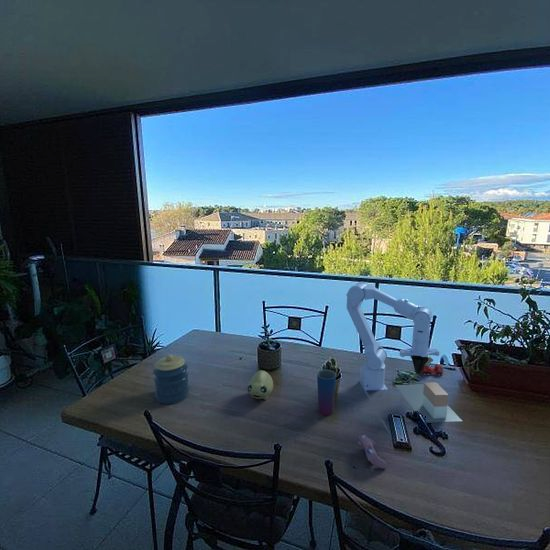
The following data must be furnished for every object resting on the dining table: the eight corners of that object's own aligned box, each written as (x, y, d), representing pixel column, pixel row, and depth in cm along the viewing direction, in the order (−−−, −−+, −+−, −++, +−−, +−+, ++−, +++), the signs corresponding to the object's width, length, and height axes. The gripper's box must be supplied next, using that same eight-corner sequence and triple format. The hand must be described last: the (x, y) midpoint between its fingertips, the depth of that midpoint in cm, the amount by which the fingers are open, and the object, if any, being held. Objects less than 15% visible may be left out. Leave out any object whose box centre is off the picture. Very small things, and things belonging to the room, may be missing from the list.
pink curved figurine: (362, 450, 102) (353, 433, 101) (375, 443, 102) (366, 426, 100) (374, 475, 92) (364, 457, 91) (388, 468, 92) (379, 450, 91)
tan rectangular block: (434, 406, 113) (435, 394, 112) (423, 393, 121) (424, 382, 120) (447, 406, 113) (448, 394, 112) (435, 393, 121) (436, 382, 120)
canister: (153, 407, 122) (148, 364, 119) (157, 388, 135) (154, 349, 131) (188, 402, 125) (185, 360, 121) (190, 385, 137) (187, 346, 134)
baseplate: (423, 424, 112) (423, 422, 111) (394, 386, 135) (394, 385, 135) (462, 422, 112) (462, 421, 112) (427, 385, 136) (427, 384, 136)
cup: (336, 407, 121) (337, 371, 118) (333, 419, 115) (334, 380, 112) (318, 404, 123) (319, 368, 120) (314, 415, 117) (315, 377, 114)
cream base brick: (433, 418, 114) (434, 406, 113) (422, 404, 121) (423, 393, 120) (446, 417, 114) (447, 406, 113) (434, 404, 122) (435, 393, 121)
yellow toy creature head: (243, 405, 123) (242, 379, 121) (252, 388, 134) (251, 364, 132) (268, 408, 121) (268, 382, 119) (275, 391, 132) (275, 367, 130)
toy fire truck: (443, 376, 142) (445, 356, 140) (411, 375, 144) (412, 355, 142) (440, 373, 146) (442, 353, 144) (408, 371, 147) (410, 352, 145)
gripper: (406, 344, 118) (403, 378, 121) (445, 343, 119) (441, 377, 122) (398, 337, 125) (395, 369, 128) (435, 336, 126) (431, 368, 129)
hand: (417, 372), depth 125 cm, fingers closed
